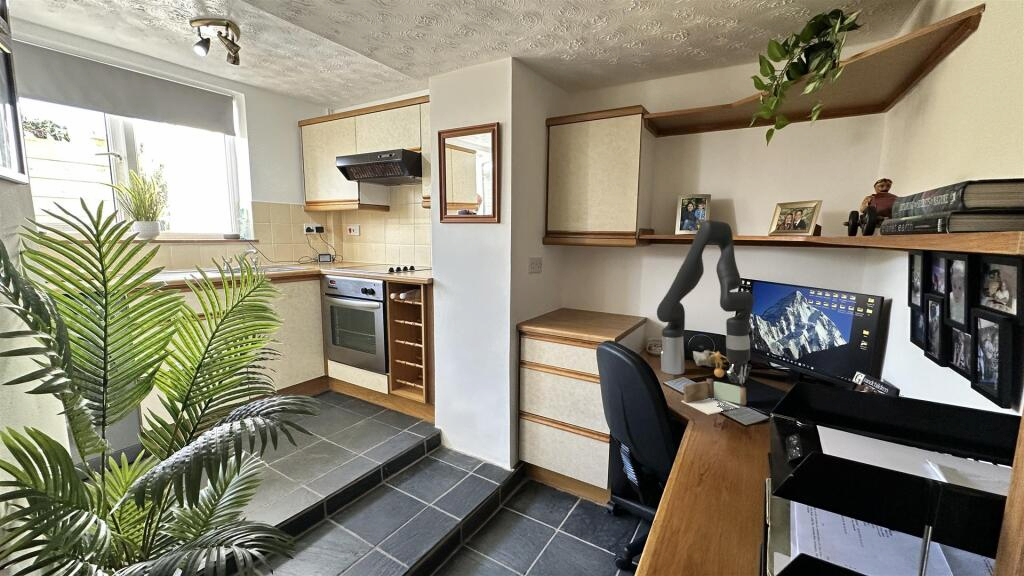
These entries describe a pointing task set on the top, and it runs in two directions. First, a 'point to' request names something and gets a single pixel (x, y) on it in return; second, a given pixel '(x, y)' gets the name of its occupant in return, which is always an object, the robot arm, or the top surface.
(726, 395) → the panel
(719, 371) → the figurine
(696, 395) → the fence post and fixed panel
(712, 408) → the card
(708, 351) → the ceramic sculpture
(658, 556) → the top surface
